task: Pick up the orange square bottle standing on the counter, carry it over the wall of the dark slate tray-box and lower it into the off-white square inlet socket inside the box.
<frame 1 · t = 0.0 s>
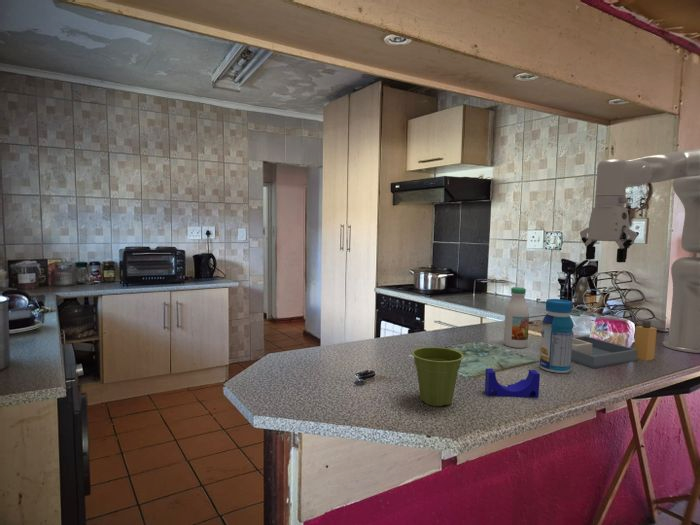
hand: (605, 260, 130), 31 cm above the countertop, tool pointing down, fingers open, 9 cm apart
blue u-shaped cradle: (510, 394, 108), on the countertop
beverage bottle: (554, 369, 127), on the countertop
walled box: (588, 356, 140), on the countertop
milk bottle: (515, 346, 151), on the countertop
orange square bottle: (643, 358, 139), on the countertop
plant pot: (435, 401, 102), on the countertop
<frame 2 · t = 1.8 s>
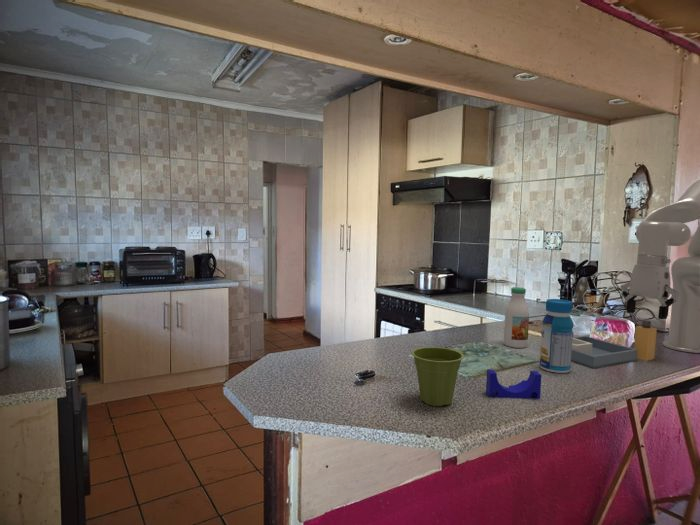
hand: (646, 315, 138), 14 cm above the countertop, tool pointing down, fingers open, 9 cm apart
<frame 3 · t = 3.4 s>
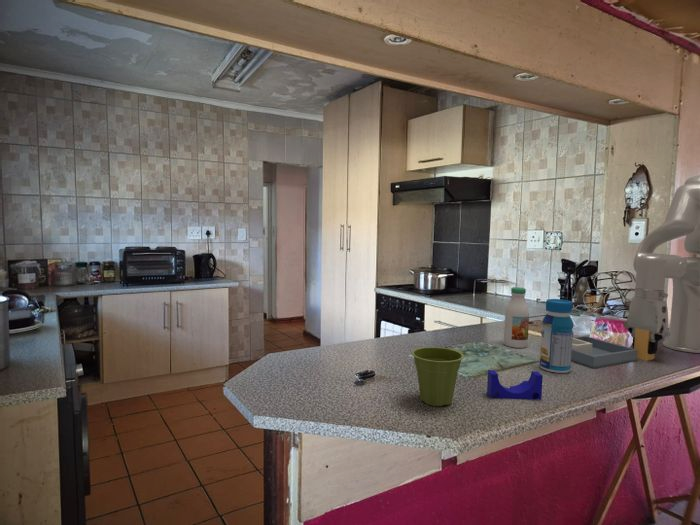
hand: (644, 351, 139), 2 cm above the countertop, tool pointing down, fingers closed on orange square bottle, 4 cm apart
orange square bottle: (643, 358, 139), on the countertop, touching gripper
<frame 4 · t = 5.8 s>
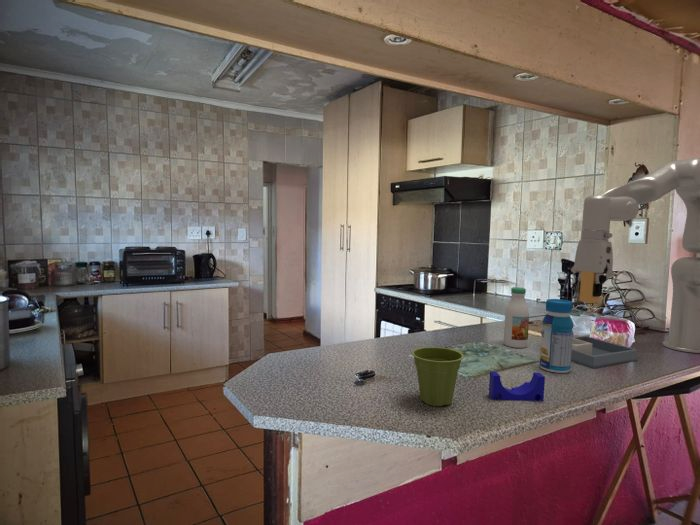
hand: (589, 294, 137), 20 cm above the countertop, tool pointing down, fingers closed on orange square bottle, 4 cm apart
orange square bottle: (589, 301, 137), point 18 cm above the countertop, touching gripper
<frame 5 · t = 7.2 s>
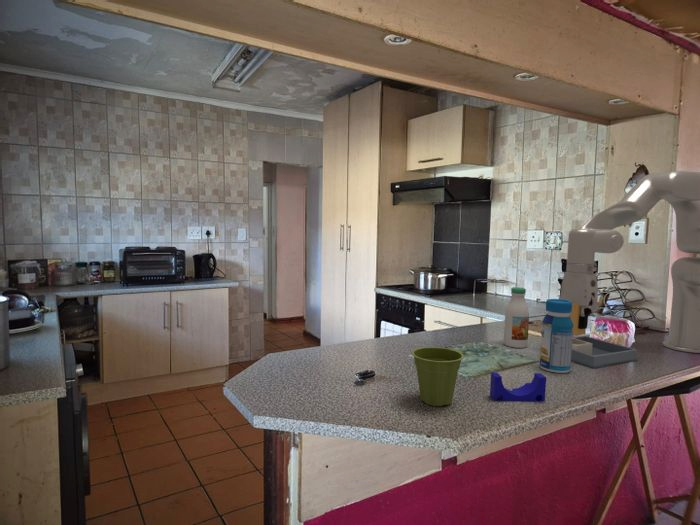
hand: (575, 326, 138), 10 cm above the countertop, tool pointing down, fingers closed on orange square bottle, 4 cm apart
orange square bottle: (575, 333, 138), point 8 cm above the countertop, touching gripper
when the fingers open (5 cm above the countertop, at t = 8.4 s): orange square bottle drops 3 cm, resting on walled box.
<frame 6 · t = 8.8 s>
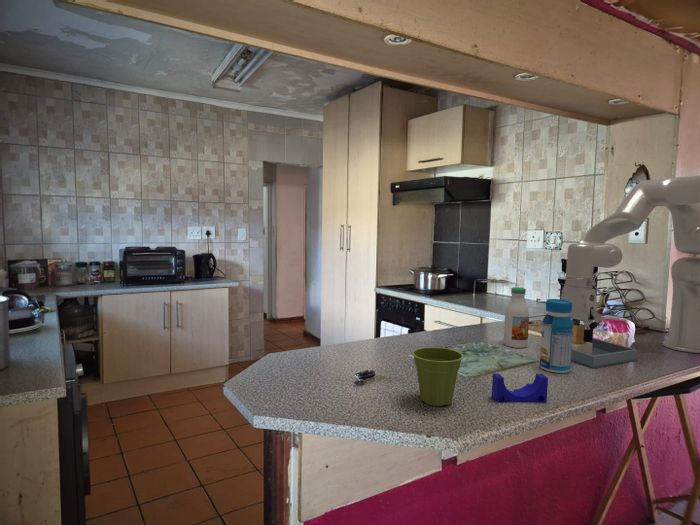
hand: (575, 337, 138), 6 cm above the countertop, tool pointing down, fingers open, 8 cm apart
orange square bottle: (573, 355, 139), point 1 cm above the countertop, touching walled box
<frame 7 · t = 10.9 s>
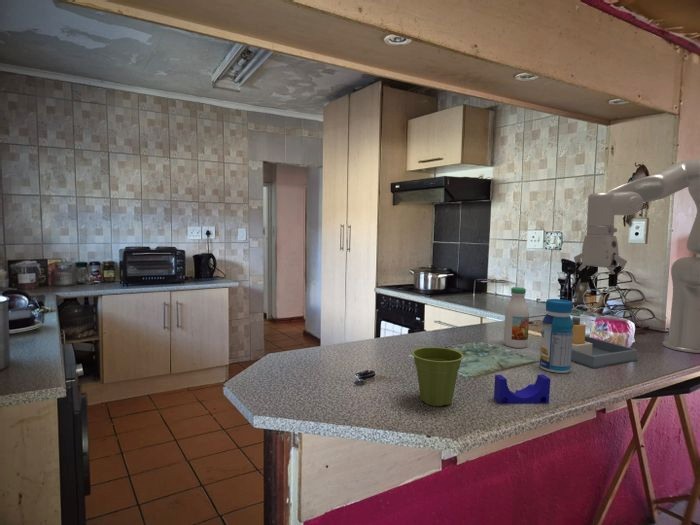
hand: (597, 284, 142), 23 cm above the countertop, tool pointing down, fingers open, 9 cm apart
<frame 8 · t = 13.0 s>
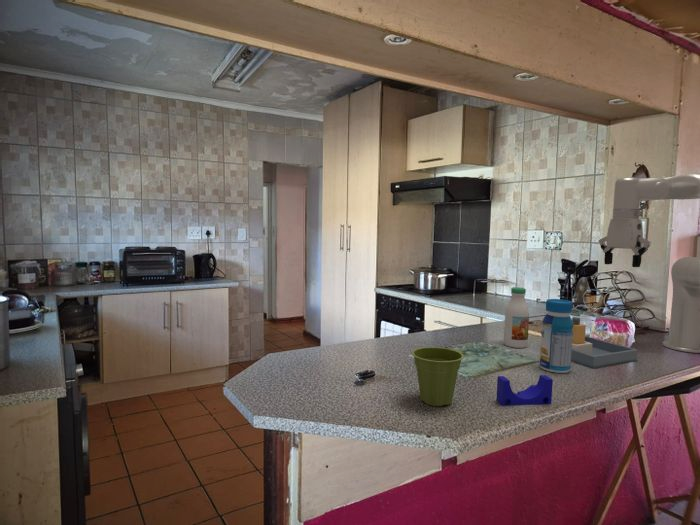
hand: (621, 265, 149), 28 cm above the countertop, tool pointing down, fingers open, 9 cm apart
at the end: orange square bottle 0.1 cm from the target spot on the walled box, point 0.6 cm above the walled box's base; orange square bottle tilted 0°; the gripper is holding nothing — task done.
